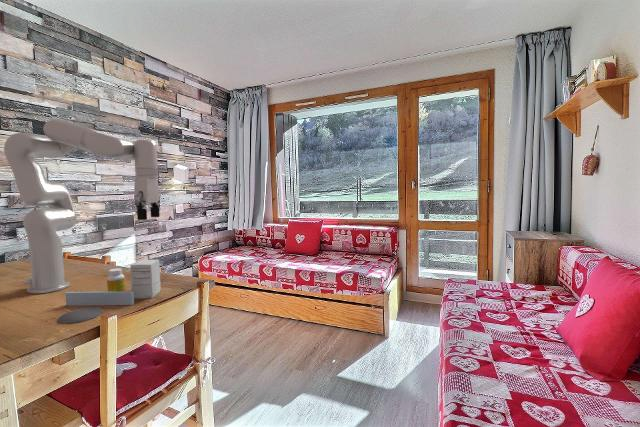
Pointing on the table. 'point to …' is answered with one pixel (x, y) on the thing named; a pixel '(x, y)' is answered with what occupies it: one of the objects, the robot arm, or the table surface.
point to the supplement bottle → (116, 280)
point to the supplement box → (145, 278)
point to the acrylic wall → (100, 298)
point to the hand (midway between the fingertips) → (149, 218)
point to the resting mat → (80, 315)
